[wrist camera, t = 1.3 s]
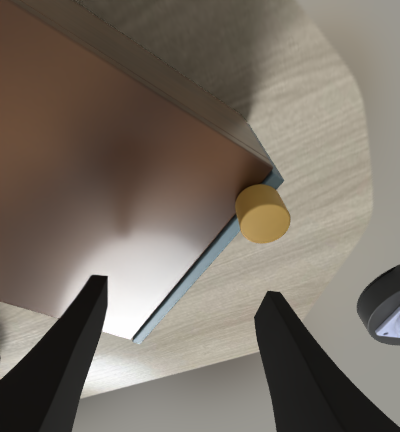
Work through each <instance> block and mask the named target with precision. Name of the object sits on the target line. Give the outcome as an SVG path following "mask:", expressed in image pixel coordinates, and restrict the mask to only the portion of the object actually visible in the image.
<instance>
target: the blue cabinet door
mask: <svg viewBox="0 0 400 432" xmlns="http://www.w3.org/2000/svg"><path fill="white" fill-rule="evenodd" d="M247 124H248V123H247ZM248 126H249V127H250V125H249V124H248ZM250 129H251V131H252V132H253V130H252V128H251V127H250ZM253 134H254V135H255V133H254V132H253ZM255 137H256V139H257V140H258V138H257V136H256V135H255ZM258 142H259V143H260V141H259V140H258ZM260 145H261V147H262V148H263V146H262V144H261V143H260ZM263 150H264V152H265V153H266V155H267V156H268V158H269V161H270V162H271V164H272V165H273V167H274V168H273V170H272V171H271V172H270V173H269V174H268V176H267V177H266V178H265V179H264V180H263V182H262V183H261V184H257V185H252V186H250V187H248V188H246V189H244V190H243V191H242V192H241V193H240V194H239V196H238V197H237V199H236V202H235V210H236V214H235V215H234V216H233V218H232V219H231V220H230V221H229V222H228V224H227V225H226V226H225V227H224V228H223V230H222V231H221V232H220V233H219V234H218V236H217V237H216V238H215V239H214V240H213V242H212V243H211V244H210V245H209V246H208V248H207V249H206V250H205V251H204V252H203V254H202V255H201V256H200V257H199V258H198V260H197V261H196V262H195V263H194V264H193V266H192V267H191V268H190V269H189V270H188V272H187V273H186V274H185V275H184V276H183V277H182V279H181V280H180V281H179V282H178V283H177V285H176V286H175V287H174V288H173V289H172V291H171V292H170V293H169V294H168V295H167V297H166V298H165V299H164V300H163V301H162V303H161V304H160V305H159V306H158V307H157V309H156V310H155V311H154V312H153V313H152V315H151V316H150V317H149V318H148V319H147V321H146V322H145V323H144V324H143V325H142V327H141V328H140V329H139V330H138V331H137V333H136V334H135V335H134V336H133V342H134V343H138V344H141V342H142V341H143V340H144V339H145V338H146V337H147V336H148V334H149V333H150V332H151V331H152V330H153V329H154V328H155V327H156V325H157V324H158V323H159V322H160V321H161V320H162V319H163V317H164V316H165V315H166V314H167V313H168V312H169V311H170V310H171V308H172V307H173V306H174V305H175V304H176V303H177V302H178V300H179V299H180V298H181V297H182V296H183V295H184V294H185V293H186V291H187V290H188V289H189V288H190V287H191V286H192V285H193V283H194V282H195V281H196V280H197V279H198V278H199V277H200V276H201V274H202V273H203V272H204V271H205V270H206V269H207V268H208V266H209V265H210V264H211V263H212V262H213V261H214V260H215V259H216V257H217V256H218V255H219V254H220V253H221V252H222V251H223V249H224V248H225V247H226V246H227V245H228V244H229V243H230V242H231V240H232V239H233V238H234V237H235V236H236V235H237V234H238V233H239V231H240V230H241V232H242V234H243V236H244V237H245V238H247V239H248V240H250V241H252V242H255V243H269V242H272V241H275V240H277V239H279V238H280V237H281V236H283V235H284V234H285V233H286V231H287V230H288V228H289V225H290V214H289V212H288V210H287V208H286V206H285V205H284V203H283V201H282V199H281V197H280V195H279V194H278V192H277V191H276V189H277V188H278V187H279V186H280V185H281V184H282V183H283V181H284V179H283V178H282V176H281V175H280V173H279V171H278V170H277V168H276V167H275V165H274V163H273V162H272V160H271V159H270V157H269V155H268V154H267V152H266V151H265V149H264V148H263Z"/></svg>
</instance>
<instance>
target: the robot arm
mask: <svg viewBox="0 0 400 432" xmlns="http://www.w3.org/2000/svg"><path fill="white" fill-rule="evenodd" d="M107 307H108V276H103V275H91V276H90V277H89V279H88V281H87V282H86V284H85V285H84V287H83V288H82V289H81V291H80V292H79V294H78V295H77V296H76V298H75V299H74V300H73V302H72V303H71V304H70V306H69V307H68V308H67V309H66V311H65V312H64V313H63V314H62V316H61V317H60V318H59V319H58V321H57V322H56V323H55V324H54V325H53V326H52V327H51V329H50V330H49V331H48V332H47V333H46V334H45V335H44V337H43V338H42V339H41V340H40V341H39V342H38V343H37V344H36V345H35V346H34V347H33V348H32V350H31V351H30V352H29V353H28V354H27V355H26V356H25V357H24V358H23V359H22V360H21V361H20V362H19V363H18V364H17V365H16V366H15V367H14V368H13V369H11V370H10V371H9V372H8V373H7V374H6V375H5V376H4V377H3V378H2V379H1V380H0V432H72V428H73V423H74V419H75V415H76V411H77V407H78V403H79V399H80V396H81V392H82V389H83V386H84V383H85V380H86V377H87V374H88V371H89V368H90V365H91V362H92V359H93V356H94V353H95V350H96V347H97V344H98V341H99V338H100V335H101V332H102V329H103V325H104V321H105V316H106V312H107ZM254 320H255V329H256V336H257V342H258V346H259V350H260V354H261V358H262V362H263V366H264V370H265V374H266V378H267V382H268V386H269V390H270V395H271V399H272V405H273V410H274V417H275V423H276V430H277V432H400V427H399V426H397V425H396V424H395V423H394V422H393V421H392V420H391V419H390V418H388V417H387V416H386V415H385V414H384V413H383V412H382V411H381V410H380V409H379V408H378V407H376V406H375V405H374V404H373V403H372V402H371V401H370V400H369V399H368V398H367V397H366V396H365V395H364V394H363V393H362V392H361V391H360V390H359V389H358V388H357V387H356V386H355V385H354V384H353V383H352V382H351V381H350V380H349V379H348V377H346V375H345V374H344V373H343V372H342V371H341V370H340V369H339V368H338V367H337V366H336V364H335V363H334V362H333V361H332V360H331V359H330V357H329V356H328V355H327V354H326V353H325V351H324V350H323V349H322V348H321V347H320V345H319V344H318V343H317V341H316V340H315V339H314V338H313V336H312V335H311V334H310V333H309V332H308V330H307V329H306V327H305V326H304V325H303V323H302V322H301V320H300V319H299V318H298V316H297V315H296V314H295V312H294V311H293V309H292V308H291V307H290V305H289V304H288V302H287V301H286V300H285V298H284V297H283V295H282V294H281V293H280V292H274V291H267V293H266V295H265V297H264V299H263V301H262V303H261V305H260V307H259V309H258V311H257V313H256V315H255V316H254ZM375 332H376V334H377V335H379V336H387V337H397V338H400V306H399V307H398V308H397V309H396V310H395V311H394V312H393V313H392V314H391V315H390V316H389V317H388V318H387V319H386V320H385V321H384V322H383V323H382V324H381V325H380V326H379V327H378V328H377V329H376V331H375Z"/></svg>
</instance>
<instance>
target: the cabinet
mask: <svg viewBox="0 0 400 432" xmlns="http://www.w3.org/2000/svg"><path fill="white" fill-rule="evenodd" d="M273 168H274V167H273V165H272V164H271V162H270V161H269V158H268V156H267V155H266V153H265V152H264V150H263V148H262V147H261V145H260V143H259V142H258V140H257V139H256V137H255V135H254V134H253V132H252V131H251V129H250V127H249V126H248V124H247V122H246V121H245V119H244V118H243V116H242V115H241V114H240V113H238V112H237V111H235V110H234V109H232V108H231V107H229V106H228V105H226V104H225V103H223V102H222V101H220V100H219V99H218V98H216V97H215V96H213V95H212V94H210V93H209V92H207V91H206V90H204V89H203V88H201V87H200V86H198V85H197V84H196V83H194V82H193V81H191V80H190V79H188V78H187V77H185V76H184V75H182V74H181V73H179V72H178V71H176V70H175V69H174V68H172V67H171V66H169V65H168V64H166V63H165V62H163V61H162V60H160V59H159V58H157V57H156V56H155V55H153V54H152V53H150V52H149V51H147V50H146V49H144V48H143V47H141V46H140V45H138V44H137V43H135V42H134V41H133V40H131V39H130V38H128V37H127V36H125V35H124V34H122V33H121V32H119V31H118V30H116V29H115V28H113V27H112V26H111V25H109V24H108V23H106V22H105V21H103V20H102V19H100V18H99V17H97V16H96V15H94V14H93V13H92V12H90V11H89V10H87V9H86V8H84V7H83V6H81V5H80V4H78V3H77V2H75V1H74V0H0V302H4V303H7V304H11V305H14V306H17V307H21V308H24V309H28V310H31V311H34V312H38V313H41V314H45V315H48V316H51V317H55V318H58V319H59V318H60V317H61V316H62V314H63V313H64V312H65V311H66V309H67V308H68V307H69V306H70V304H71V303H72V302H73V300H74V299H75V298H76V296H77V295H78V294H79V292H80V291H81V289H82V288H83V287H84V285H85V284H86V282H87V281H88V279H89V277H90V276H91V275H103V276H108V307H107V312H106V316H105V321H104V325H103V329H102V331H103V332H106V333H109V334H113V335H116V336H120V337H123V338H126V339H132V337H133V336H134V335H135V334H136V333H137V331H138V330H139V329H140V328H141V327H142V325H143V324H144V323H145V322H146V321H147V319H148V318H149V317H150V316H151V315H152V313H153V312H154V311H155V310H156V309H157V307H158V306H159V305H160V304H161V303H162V301H163V300H164V299H165V298H166V297H167V295H168V294H169V293H170V292H171V291H172V289H173V288H174V287H175V286H176V285H177V283H178V282H179V281H180V280H181V279H182V277H183V276H184V275H185V274H186V273H187V272H188V270H189V269H190V268H191V267H192V266H193V264H194V263H195V262H196V261H197V260H198V258H199V257H200V256H201V255H202V254H203V252H204V251H205V250H206V249H207V248H208V246H209V245H210V244H211V243H212V242H213V240H214V239H215V238H216V237H217V236H218V234H219V233H220V232H221V231H222V230H223V228H224V227H225V226H226V225H227V224H228V222H229V221H230V220H231V219H232V218H233V216H234V215H235V214H236V210H235V202H236V199H237V197H238V196H239V194H240V193H241V192H242V191H243V190H244V189H246V188H248V187H250V186H252V185H257V184H261V183H262V182H263V180H264V179H265V178H266V177H267V176H268V174H269V173H270V172H271V171H272V170H273Z"/></svg>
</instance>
